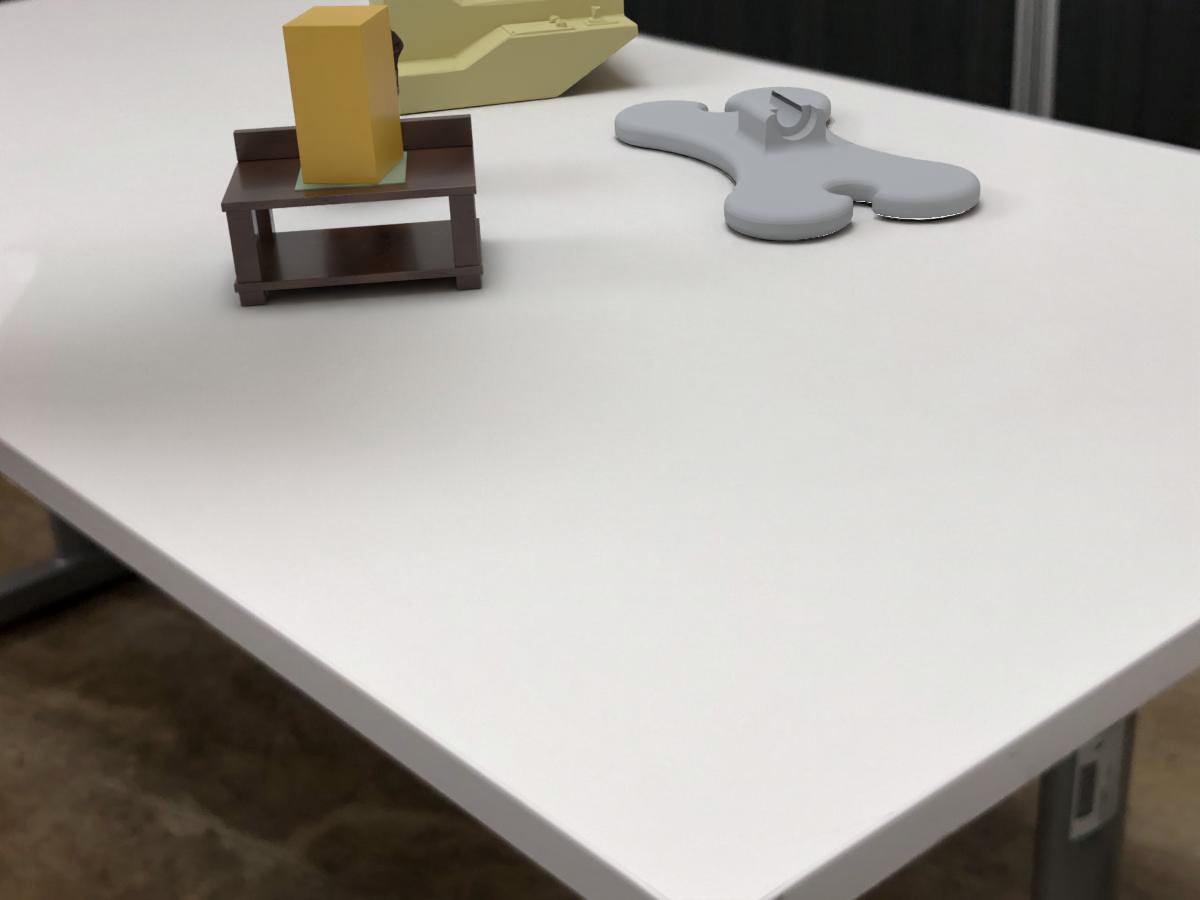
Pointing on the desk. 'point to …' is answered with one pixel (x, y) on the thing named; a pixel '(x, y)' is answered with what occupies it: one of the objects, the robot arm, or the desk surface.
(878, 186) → the holder
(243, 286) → the rack
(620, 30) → the control panel
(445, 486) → the desk surface
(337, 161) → the block
